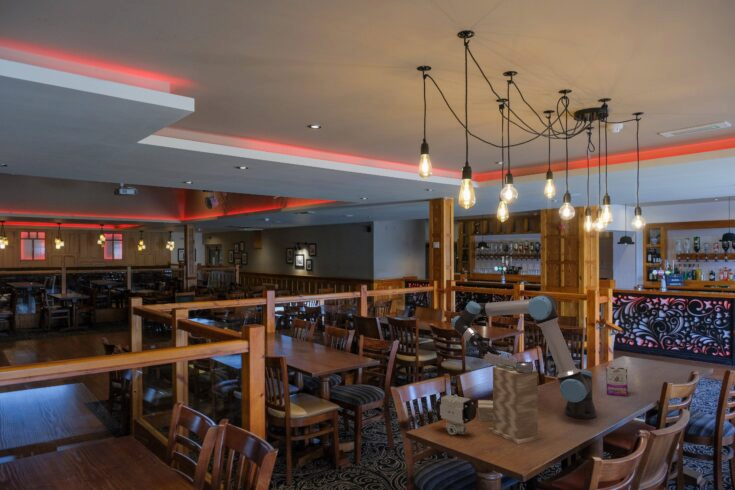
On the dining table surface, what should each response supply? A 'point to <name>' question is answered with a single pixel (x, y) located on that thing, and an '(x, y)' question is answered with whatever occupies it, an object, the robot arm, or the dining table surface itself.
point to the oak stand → (515, 404)
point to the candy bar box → (616, 381)
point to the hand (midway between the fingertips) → (501, 363)
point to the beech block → (485, 410)
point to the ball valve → (456, 412)
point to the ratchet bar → (509, 363)
